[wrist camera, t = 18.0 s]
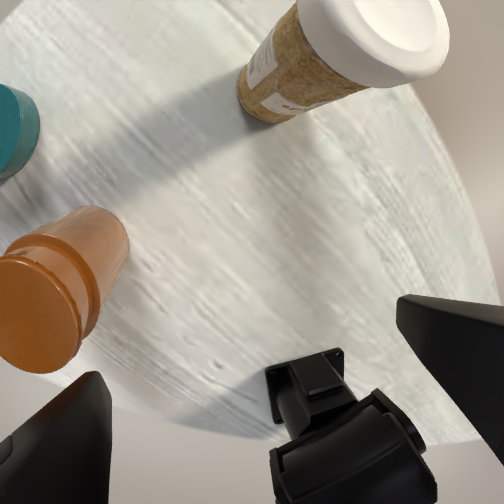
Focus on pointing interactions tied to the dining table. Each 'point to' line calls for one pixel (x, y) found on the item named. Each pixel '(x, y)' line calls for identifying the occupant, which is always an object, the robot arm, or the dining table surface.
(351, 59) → the sprinkles bottle
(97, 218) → the jar
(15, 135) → the lid
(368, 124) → the dining table surface
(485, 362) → the robot arm
